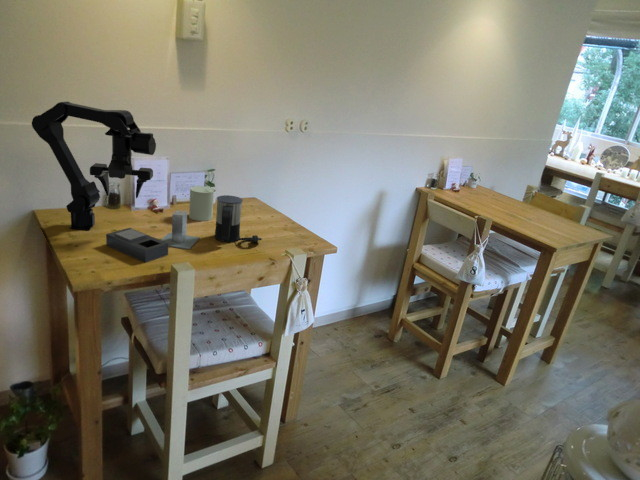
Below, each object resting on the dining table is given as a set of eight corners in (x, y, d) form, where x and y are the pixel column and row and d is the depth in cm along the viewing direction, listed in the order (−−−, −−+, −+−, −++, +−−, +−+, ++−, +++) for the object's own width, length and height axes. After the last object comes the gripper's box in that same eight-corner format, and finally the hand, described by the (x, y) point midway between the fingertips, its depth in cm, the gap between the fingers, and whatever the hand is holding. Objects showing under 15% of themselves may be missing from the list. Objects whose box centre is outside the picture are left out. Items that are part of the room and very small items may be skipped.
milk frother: (212, 233, 178) (214, 194, 173) (254, 232, 184) (257, 195, 179) (219, 248, 166) (221, 207, 161) (263, 247, 172) (267, 207, 167)
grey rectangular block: (171, 241, 165) (172, 214, 161) (176, 237, 169) (177, 210, 165) (181, 243, 165) (182, 215, 161) (186, 238, 169) (187, 211, 165)
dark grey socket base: (106, 245, 156) (106, 232, 154) (129, 238, 164) (129, 226, 162) (145, 262, 148) (145, 248, 147) (168, 254, 156) (168, 241, 154)
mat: (156, 244, 162) (156, 243, 162) (169, 233, 172) (169, 232, 172) (189, 249, 162) (189, 248, 162) (199, 238, 172) (199, 237, 172)
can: (200, 222, 187) (202, 192, 183) (183, 216, 191) (184, 186, 187) (217, 218, 194) (219, 189, 190) (200, 211, 199) (202, 183, 194)
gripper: (83, 152, 149) (85, 201, 154) (146, 158, 152) (146, 206, 157) (94, 145, 159) (95, 191, 164) (153, 151, 162) (153, 196, 167)
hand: (122, 196), depth 163 cm, fingers open, 9 cm apart
